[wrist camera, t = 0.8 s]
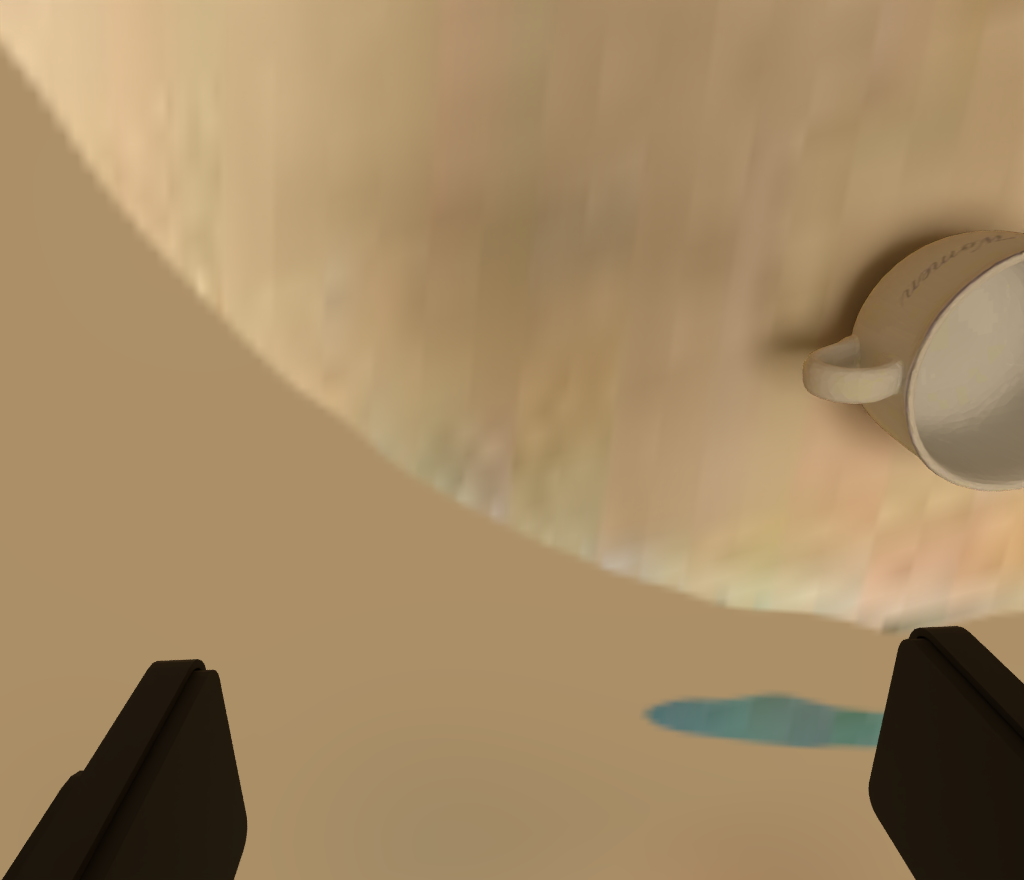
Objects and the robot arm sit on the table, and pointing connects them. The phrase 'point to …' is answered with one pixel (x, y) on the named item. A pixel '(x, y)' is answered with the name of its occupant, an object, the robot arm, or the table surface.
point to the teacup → (942, 358)
